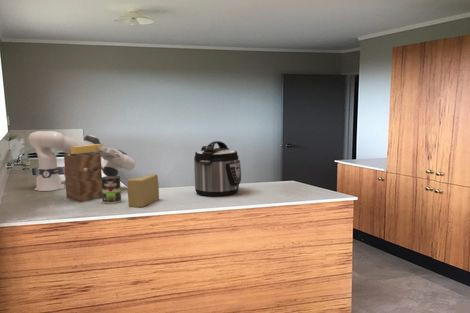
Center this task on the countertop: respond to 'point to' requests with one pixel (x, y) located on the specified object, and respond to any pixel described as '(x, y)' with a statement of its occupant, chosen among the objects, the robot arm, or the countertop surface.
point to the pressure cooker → (216, 170)
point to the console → (83, 176)
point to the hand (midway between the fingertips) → (94, 146)
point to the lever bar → (85, 149)
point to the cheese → (143, 190)
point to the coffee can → (111, 189)
